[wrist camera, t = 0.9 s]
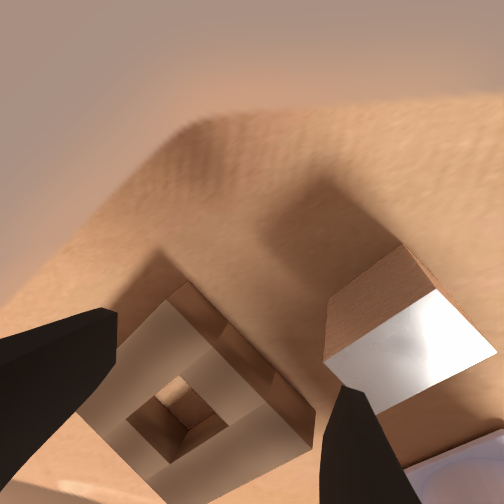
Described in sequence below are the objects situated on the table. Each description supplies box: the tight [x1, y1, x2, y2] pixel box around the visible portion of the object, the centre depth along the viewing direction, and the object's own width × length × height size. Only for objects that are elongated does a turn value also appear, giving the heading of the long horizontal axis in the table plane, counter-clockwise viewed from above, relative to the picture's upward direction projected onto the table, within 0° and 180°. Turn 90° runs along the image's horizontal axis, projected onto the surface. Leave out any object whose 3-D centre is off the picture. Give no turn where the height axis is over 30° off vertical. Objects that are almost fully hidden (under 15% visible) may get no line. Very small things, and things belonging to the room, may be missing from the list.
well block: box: [76, 281, 316, 504], centre depth 21 cm, size 12×13×3 cm
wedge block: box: [323, 243, 497, 415], centre depth 14 cm, size 3×5×6 cm, turn 136°
